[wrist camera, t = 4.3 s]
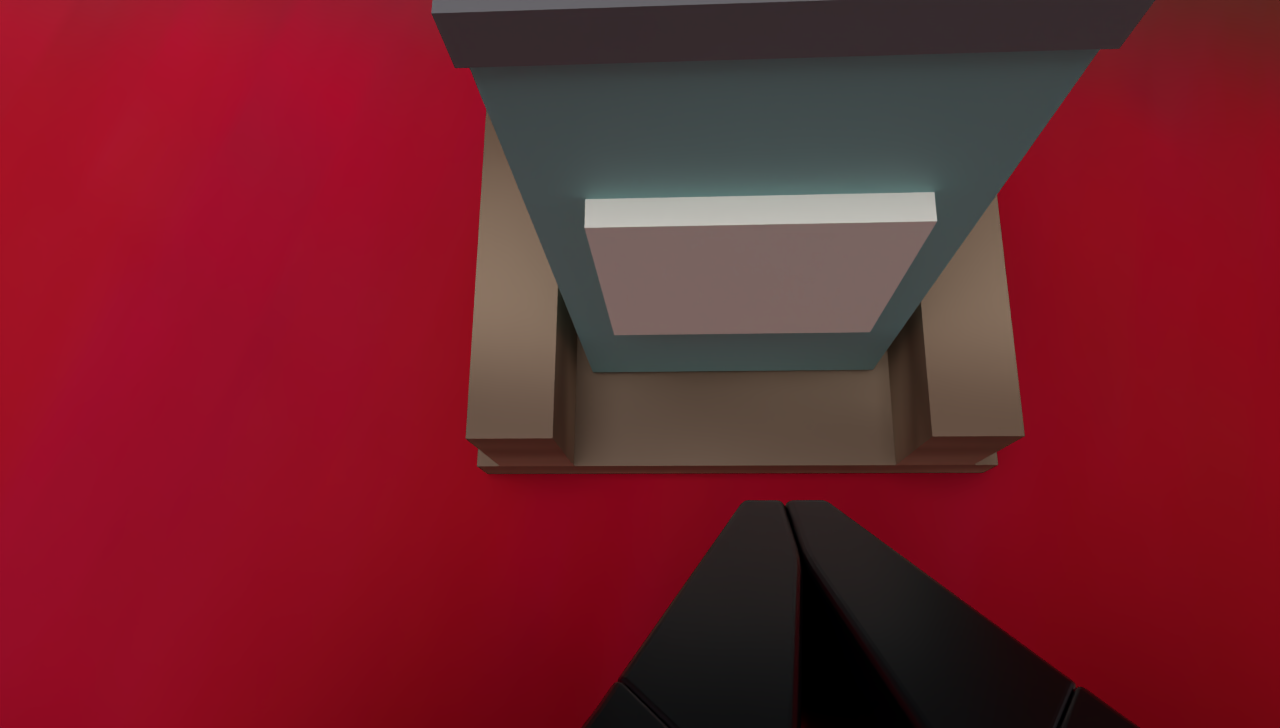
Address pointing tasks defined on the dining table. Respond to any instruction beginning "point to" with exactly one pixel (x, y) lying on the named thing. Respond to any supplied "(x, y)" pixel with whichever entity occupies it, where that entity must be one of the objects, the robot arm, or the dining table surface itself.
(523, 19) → the grey teal box
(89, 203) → the dining table surface
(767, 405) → the walnut track
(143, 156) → the dining table surface
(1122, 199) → the dining table surface
